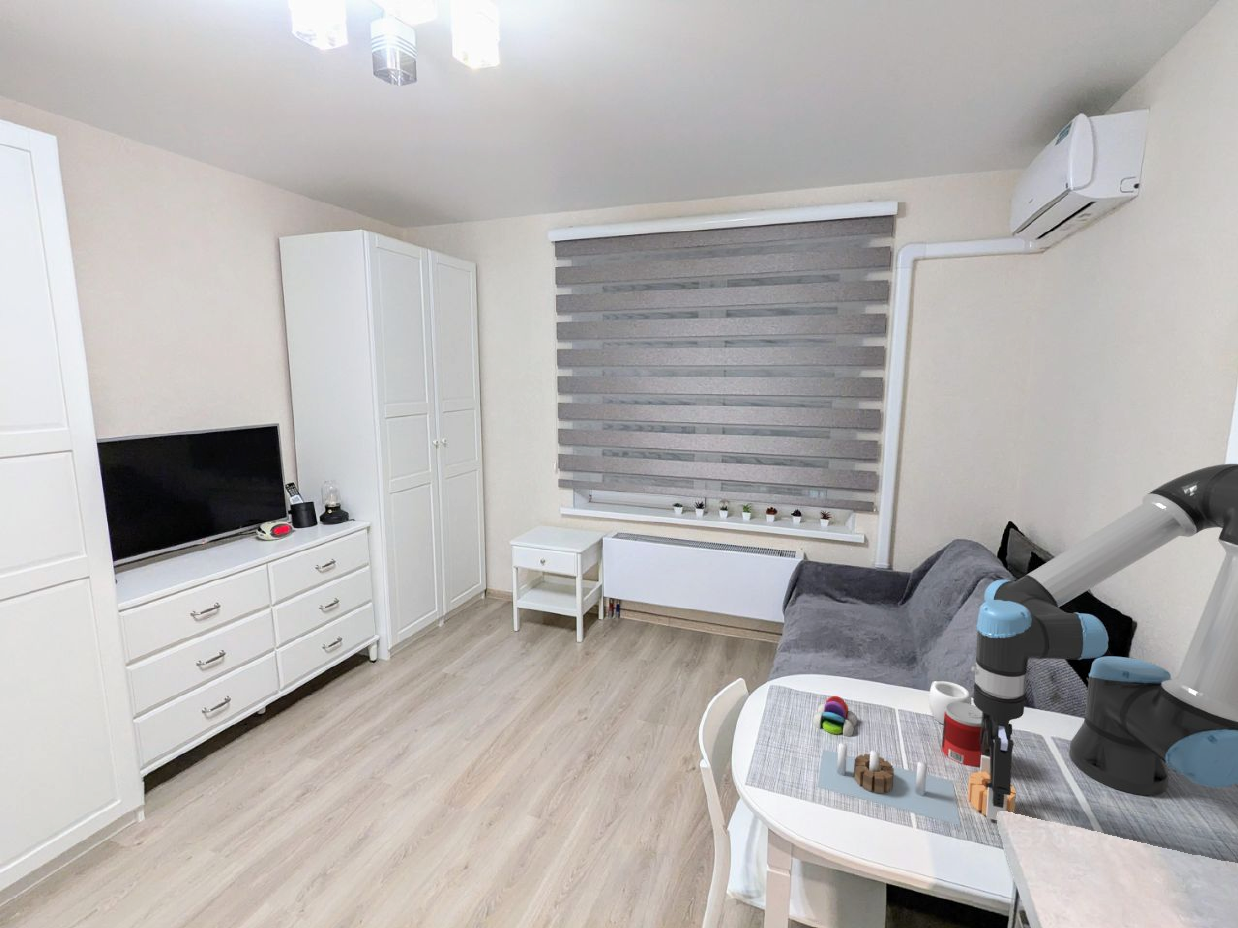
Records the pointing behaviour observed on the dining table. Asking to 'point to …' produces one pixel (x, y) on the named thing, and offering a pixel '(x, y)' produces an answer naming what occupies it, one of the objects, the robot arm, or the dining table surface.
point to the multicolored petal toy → (835, 717)
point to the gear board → (907, 791)
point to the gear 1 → (873, 774)
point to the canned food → (962, 733)
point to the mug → (946, 697)
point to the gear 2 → (985, 792)
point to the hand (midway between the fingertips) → (991, 802)
